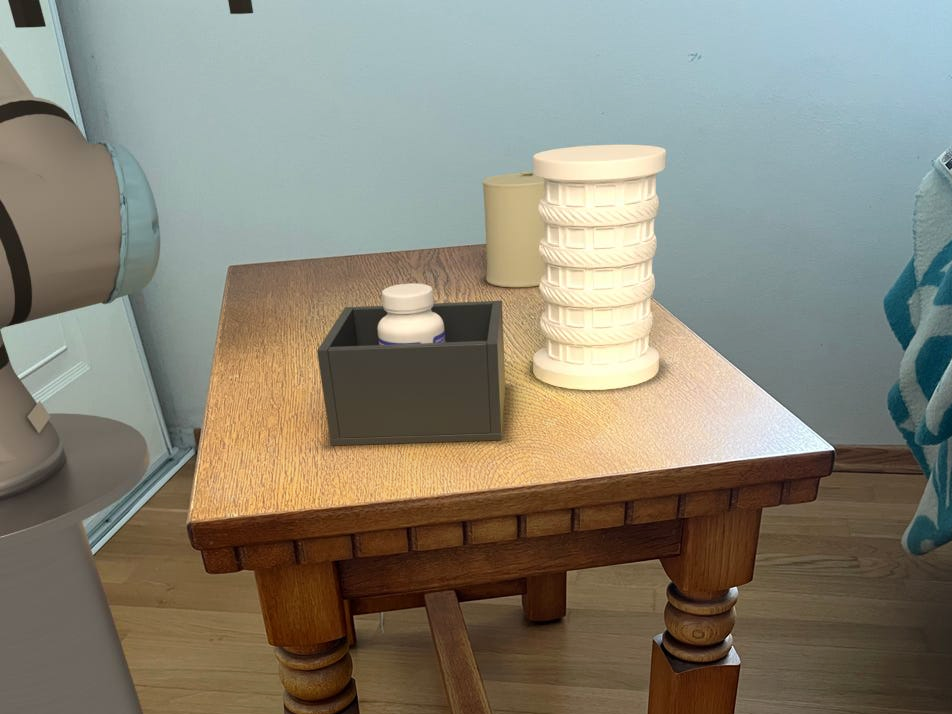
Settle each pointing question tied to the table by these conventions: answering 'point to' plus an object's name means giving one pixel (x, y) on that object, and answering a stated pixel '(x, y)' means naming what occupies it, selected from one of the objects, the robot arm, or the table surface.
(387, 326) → the pill bottle
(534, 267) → the can
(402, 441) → the bin
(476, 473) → the table surface
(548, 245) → the decorative container
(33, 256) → the robot arm
